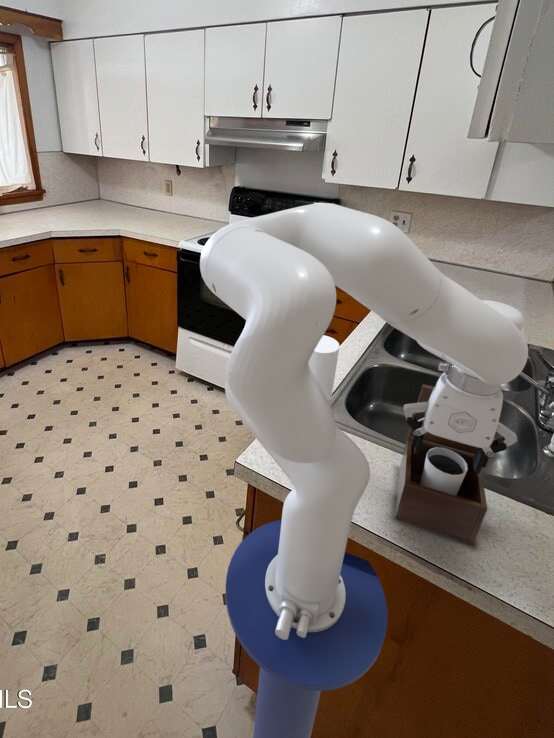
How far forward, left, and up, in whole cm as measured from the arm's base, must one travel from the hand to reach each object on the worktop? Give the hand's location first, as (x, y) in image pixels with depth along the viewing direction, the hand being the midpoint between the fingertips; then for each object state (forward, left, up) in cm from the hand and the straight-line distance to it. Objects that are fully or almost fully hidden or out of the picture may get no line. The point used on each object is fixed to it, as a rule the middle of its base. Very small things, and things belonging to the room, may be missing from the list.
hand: (445, 458), depth 75 cm
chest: (+1, 0, -12) cm, 12 cm away
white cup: (+1, 0, -11) cm, 11 cm away
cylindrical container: (+7, +25, -12) cm, 29 cm away
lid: (+5, 0, +4) cm, 7 cm away
